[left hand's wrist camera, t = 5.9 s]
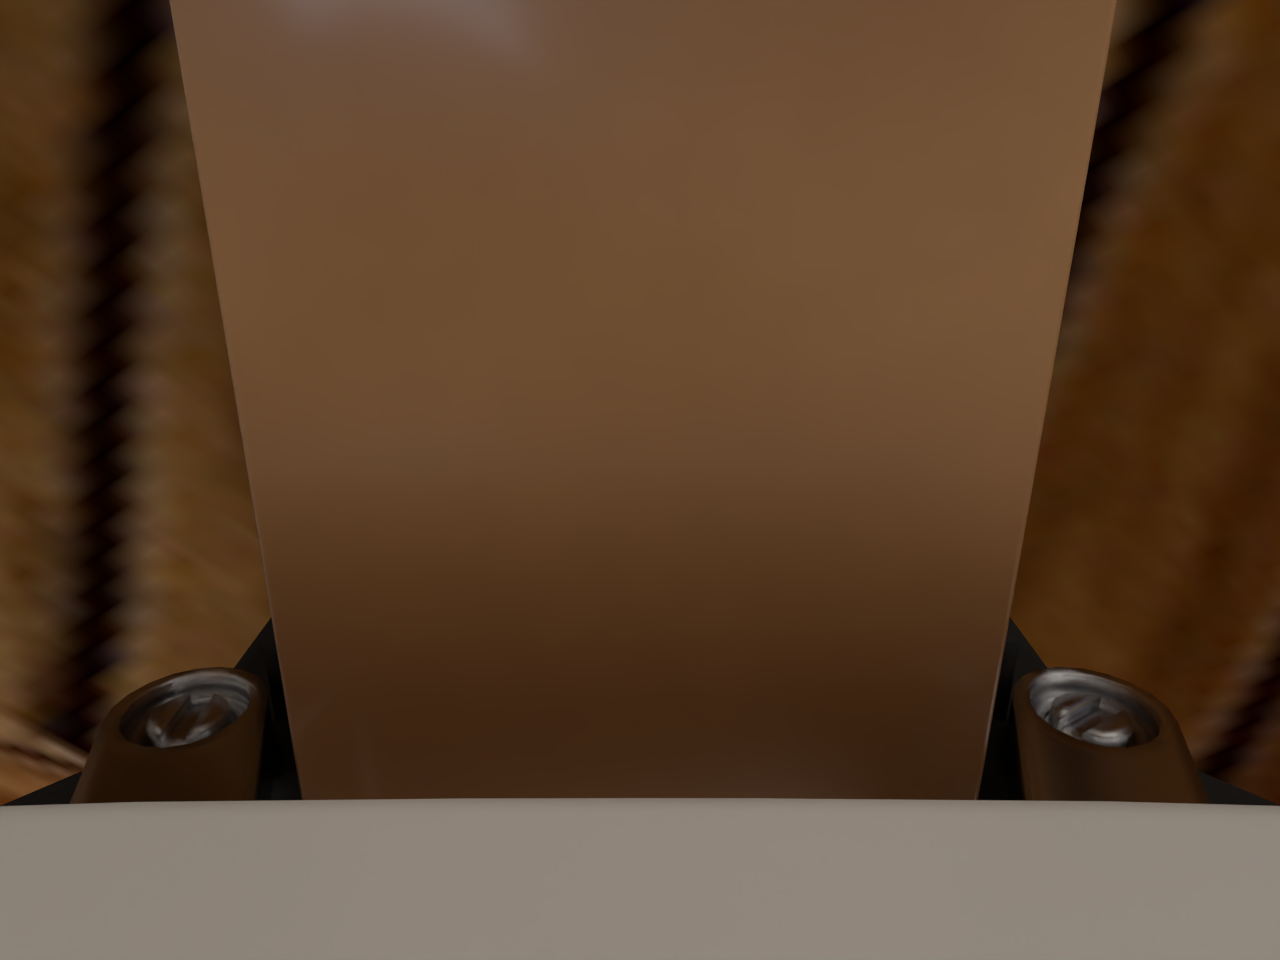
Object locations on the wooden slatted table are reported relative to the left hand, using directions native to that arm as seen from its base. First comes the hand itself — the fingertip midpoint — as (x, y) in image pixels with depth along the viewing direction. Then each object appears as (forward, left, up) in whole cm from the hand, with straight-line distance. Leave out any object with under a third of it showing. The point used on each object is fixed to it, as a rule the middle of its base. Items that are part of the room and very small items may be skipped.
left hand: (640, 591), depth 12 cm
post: (-9, +16, -3) cm, 18 cm away
